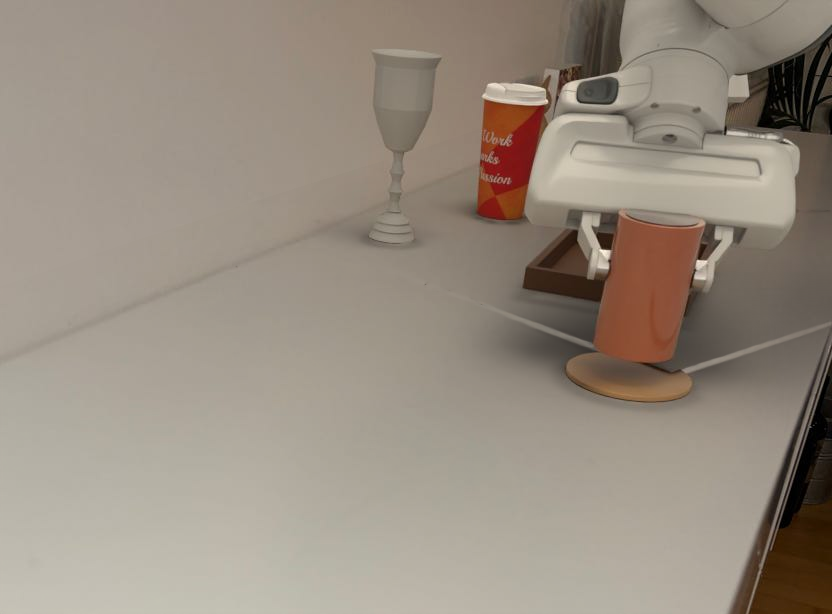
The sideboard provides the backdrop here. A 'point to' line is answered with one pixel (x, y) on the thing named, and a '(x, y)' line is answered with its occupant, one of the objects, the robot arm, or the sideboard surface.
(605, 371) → the coaster
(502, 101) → the paper cup
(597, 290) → the tray
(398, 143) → the chalice
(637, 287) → the cup
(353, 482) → the sideboard surface
